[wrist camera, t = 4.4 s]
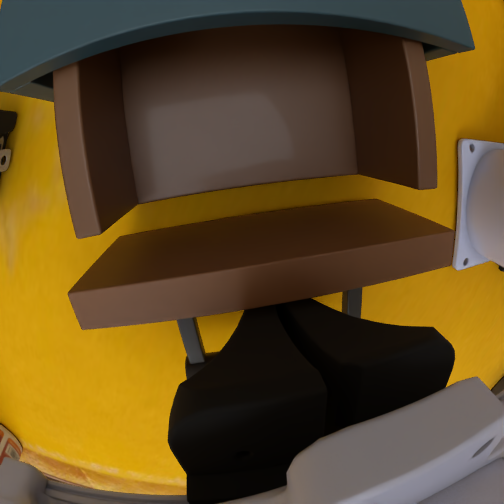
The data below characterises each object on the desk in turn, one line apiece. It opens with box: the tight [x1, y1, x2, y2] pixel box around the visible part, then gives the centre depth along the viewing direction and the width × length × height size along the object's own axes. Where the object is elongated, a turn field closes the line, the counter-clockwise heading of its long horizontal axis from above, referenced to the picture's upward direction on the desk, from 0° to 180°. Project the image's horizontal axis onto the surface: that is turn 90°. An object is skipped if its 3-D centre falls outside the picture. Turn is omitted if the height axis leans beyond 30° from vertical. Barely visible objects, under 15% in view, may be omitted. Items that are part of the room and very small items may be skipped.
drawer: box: [53, 24, 455, 379], centre depth 9 cm, size 18×11×5 cm, turn 7°
